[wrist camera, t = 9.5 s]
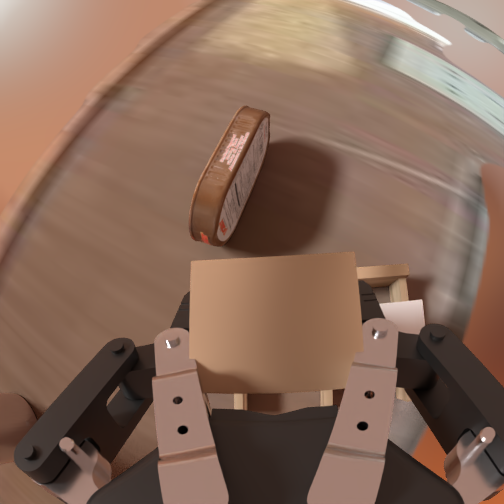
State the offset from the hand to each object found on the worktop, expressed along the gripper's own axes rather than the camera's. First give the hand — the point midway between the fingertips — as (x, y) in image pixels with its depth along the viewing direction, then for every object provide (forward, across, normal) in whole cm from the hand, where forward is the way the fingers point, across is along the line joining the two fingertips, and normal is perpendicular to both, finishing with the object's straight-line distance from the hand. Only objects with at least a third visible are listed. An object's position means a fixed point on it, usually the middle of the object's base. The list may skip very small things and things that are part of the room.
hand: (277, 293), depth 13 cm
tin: (+21, +4, +1) cm, 22 cm away
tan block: (+2, 0, +4) cm, 5 cm away
